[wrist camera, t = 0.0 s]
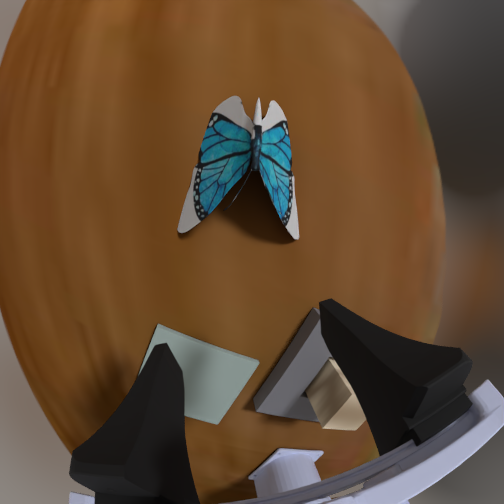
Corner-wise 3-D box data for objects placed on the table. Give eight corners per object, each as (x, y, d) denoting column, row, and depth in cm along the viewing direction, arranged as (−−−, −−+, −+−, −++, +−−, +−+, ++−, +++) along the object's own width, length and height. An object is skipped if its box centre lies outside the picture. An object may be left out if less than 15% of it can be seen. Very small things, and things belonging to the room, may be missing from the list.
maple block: (331, 388, 28) (355, 430, 21) (300, 381, 26) (322, 428, 20) (353, 359, 27) (383, 399, 20) (323, 350, 26) (352, 394, 19)
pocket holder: (336, 413, 29) (341, 423, 27) (252, 398, 26) (255, 411, 24) (393, 338, 27) (402, 347, 25) (313, 307, 24) (321, 317, 22)
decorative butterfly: (331, 95, 16) (334, 236, 16) (301, 129, 23) (299, 240, 23) (183, 75, 15) (162, 225, 15) (187, 117, 21) (175, 233, 21)
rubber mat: (217, 421, 26) (217, 424, 26) (131, 393, 24) (130, 397, 24) (258, 360, 25) (259, 363, 24) (157, 323, 22) (157, 326, 22)
